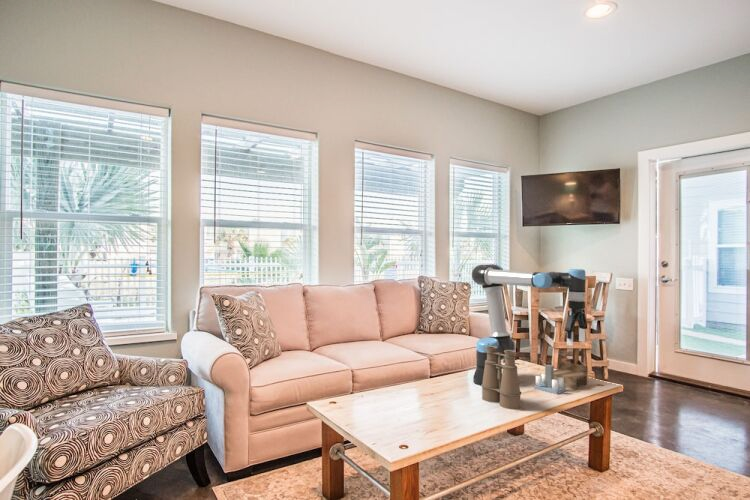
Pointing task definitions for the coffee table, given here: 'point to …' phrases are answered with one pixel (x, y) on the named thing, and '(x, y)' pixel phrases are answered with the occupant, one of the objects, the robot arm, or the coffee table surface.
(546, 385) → the pegged blue plate
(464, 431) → the coffee table surface
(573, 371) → the wooden u channel
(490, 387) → the binoculars
